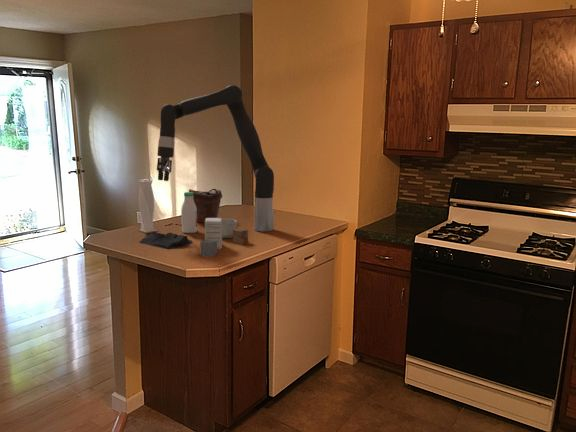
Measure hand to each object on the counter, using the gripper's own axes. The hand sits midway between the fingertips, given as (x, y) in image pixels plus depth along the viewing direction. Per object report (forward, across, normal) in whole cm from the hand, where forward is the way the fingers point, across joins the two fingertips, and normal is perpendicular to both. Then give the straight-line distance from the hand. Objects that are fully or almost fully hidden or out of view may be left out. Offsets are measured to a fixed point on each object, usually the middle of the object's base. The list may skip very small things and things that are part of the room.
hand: (163, 180), depth 240 cm
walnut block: (+25, -4, -41) cm, 48 cm away
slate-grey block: (+30, -27, -31) cm, 51 cm away
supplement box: (+28, -14, -30) cm, 44 cm away
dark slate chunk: (+29, -10, -7) cm, 32 cm away
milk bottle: (+24, +12, -12) cm, 30 cm away
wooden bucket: (+20, +40, -13) cm, 46 cm away
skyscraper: (+26, +9, +8) cm, 29 cm away
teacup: (+24, +5, -30) cm, 39 cm away
